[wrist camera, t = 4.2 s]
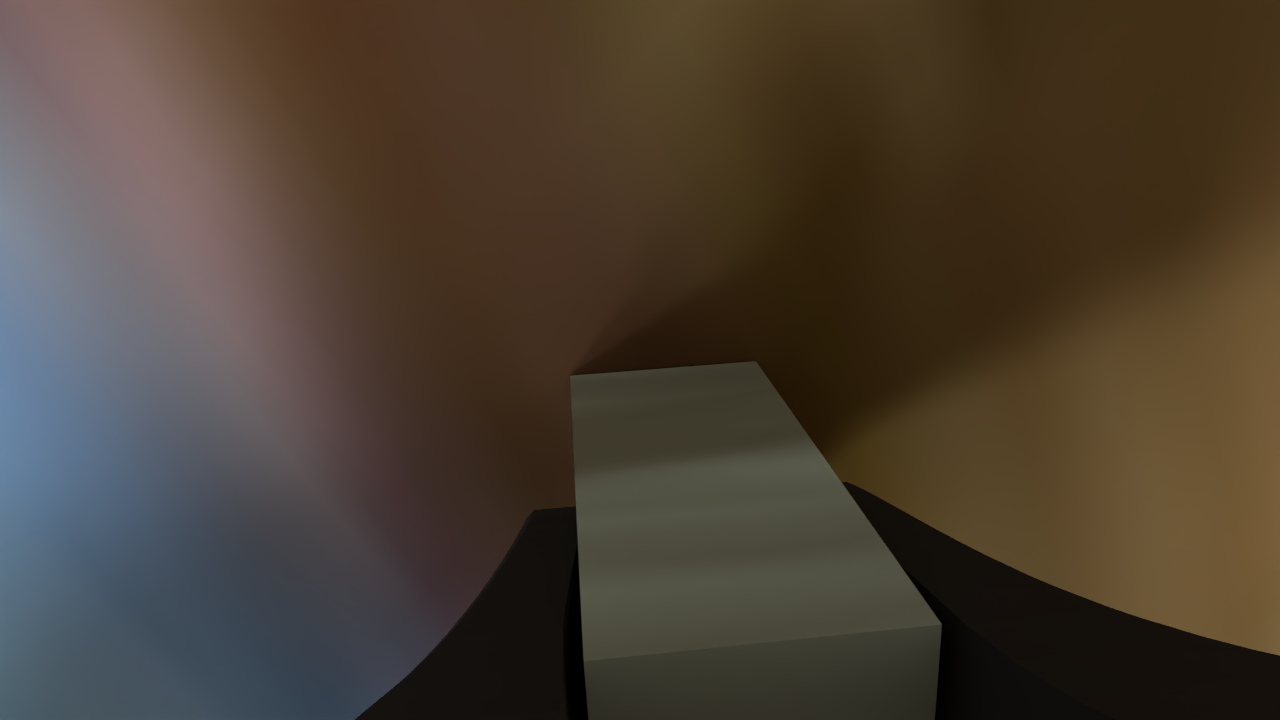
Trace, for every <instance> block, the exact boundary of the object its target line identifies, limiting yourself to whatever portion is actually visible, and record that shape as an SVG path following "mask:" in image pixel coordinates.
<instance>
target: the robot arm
mask: <svg viewBox="0 0 1280 720" xmlns="http://www.w3.org/2000/svg"><path fill="white" fill-rule="evenodd" d="M842 484H843V485H844V487H845V488H846V489H847V491H848V492H849V494H850V495H851V496H852V498H853V499H854V501H855V502H856V504H857V505H858V506H859V508H860V509H861V511H862V512H863V513H864V515H865V516H866V518H867V519H868V521H869V522H870V523H871V525H872V526H873V528H874V529H875V530H876V532H877V533H878V535H879V536H880V538H881V539H882V540H883V542H884V543H885V545H886V546H887V547H888V549H889V550H890V552H891V553H892V554H893V556H894V557H895V559H896V560H897V562H898V563H899V564H900V566H901V567H902V569H903V570H904V571H905V573H906V574H907V576H908V577H909V579H910V580H911V581H912V583H913V584H914V586H915V587H916V588H917V590H918V591H919V593H920V594H921V596H922V597H923V598H924V600H925V601H926V603H927V604H928V605H929V607H930V608H931V610H932V611H933V612H934V614H935V615H936V617H937V618H938V620H939V621H940V622H941V624H942V630H941V643H940V657H939V670H938V684H937V697H936V710H935V720H1280V656H1279V655H1274V654H1270V653H1265V652H1261V651H1256V650H1252V649H1248V648H1244V647H1240V646H1237V645H1233V644H1229V643H1225V642H1221V641H1217V640H1213V639H1209V638H1206V637H1202V636H1199V635H1195V634H1192V633H1189V632H1185V631H1182V630H1179V629H1176V628H1172V627H1169V626H1166V625H1162V624H1159V623H1156V622H1152V621H1149V620H1146V619H1142V618H1139V617H1136V616H1133V615H1130V614H1127V613H1124V612H1121V611H1118V610H1115V609H1113V608H1110V607H1107V606H1104V605H1102V604H1099V603H1096V602H1094V601H1091V600H1089V599H1086V598H1083V597H1081V596H1078V595H1076V594H1073V593H1070V592H1068V591H1065V590H1062V589H1060V588H1057V587H1055V586H1052V585H1050V584H1048V583H1045V582H1043V581H1040V580H1038V579H1036V578H1033V577H1031V576H1029V575H1027V574H1024V573H1022V572H1020V571H1018V570H1016V569H1014V568H1012V567H1010V566H1007V565H1005V564H1003V563H1001V562H999V561H997V560H995V559H993V558H990V557H988V556H986V555H984V554H982V553H980V552H978V551H976V550H974V549H972V548H970V547H968V546H966V545H964V544H962V543H961V542H959V541H957V540H955V539H953V538H951V537H949V536H947V535H945V534H944V533H942V532H940V531H938V530H936V529H934V528H932V527H931V526H929V525H927V524H925V523H923V522H922V521H920V520H918V519H916V518H914V517H913V516H911V515H909V514H907V513H905V512H904V511H902V510H900V509H898V508H896V507H895V506H893V505H891V504H889V503H887V502H886V501H884V500H882V499H880V498H878V497H877V496H875V495H873V494H871V493H869V492H867V491H865V490H863V489H861V488H859V487H857V486H855V485H852V484H850V483H848V482H843V483H842ZM355 720H588V708H587V696H586V684H585V672H584V660H583V639H582V619H581V598H580V577H579V556H578V536H577V515H576V507H564V508H553V509H542V510H534V511H533V512H532V513H531V514H530V515H529V516H528V518H527V519H526V521H525V523H524V525H523V527H522V529H521V531H520V532H519V534H518V536H517V538H516V539H515V541H514V543H513V545H512V546H511V548H510V549H509V551H508V553H507V554H506V556H505V558H504V559H503V561H502V562H501V564H500V565H499V567H498V568H497V570H496V571H495V572H494V574H493V575H492V577H491V578H490V580H489V581H488V583H487V584H486V586H485V587H484V588H483V590H482V591H481V593H480V594H479V595H478V597H477V598H476V599H475V600H474V602H473V603H472V604H471V605H470V607H469V608H468V609H467V610H466V612H465V613H464V614H463V615H462V617H461V618H460V619H459V620H458V622H457V623H456V624H455V625H454V627H453V628H452V629H451V630H450V631H449V633H448V634H447V635H446V636H445V637H444V638H443V639H442V641H441V642H440V643H439V644H438V645H437V646H436V647H435V648H434V649H433V650H432V652H431V653H430V654H429V655H428V656H427V657H426V658H425V659H424V660H423V661H422V662H421V663H420V664H419V665H418V666H417V667H416V668H415V669H414V670H413V671H412V672H411V673H410V674H409V675H408V676H406V677H405V678H404V679H403V680H402V681H401V682H400V683H399V684H397V685H396V686H395V687H394V688H393V689H391V690H390V691H389V692H388V693H387V694H385V695H384V696H383V697H382V698H380V699H379V700H378V701H377V702H376V703H374V704H373V705H372V706H371V707H369V708H368V709H367V710H366V711H365V712H363V713H362V714H361V715H360V716H358V717H357V718H356V719H355Z"/></svg>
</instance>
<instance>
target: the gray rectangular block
mask: <svg viewBox="0 0 1280 720" xmlns="http://www.w3.org/2000/svg"><path fill="white" fill-rule="evenodd" d="M570 391H571V412H572V432H573V453H574V474H575V494H576V515H577V536H578V556H579V577H580V598H581V619H582V639H583V660H584V672H585V684H586V696H587V708H588V720H935V710H936V697H937V684H938V670H939V657H940V643H941V630H942V624H941V622H940V621H939V620H938V618H937V617H936V615H935V614H934V612H933V611H932V610H931V608H930V607H929V605H928V604H927V603H926V601H925V600H924V598H923V597H922V596H921V594H920V593H919V591H918V590H917V588H916V587H915V586H914V584H913V583H912V581H911V580H910V579H909V577H908V576H907V574H906V573H905V571H904V570H903V569H902V567H901V566H900V564H899V563H898V562H897V560H896V559H895V557H894V556H893V554H892V553H891V552H890V550H889V549H888V547H887V546H886V545H885V543H884V542H883V540H882V539H881V538H880V536H879V535H878V533H877V532H876V530H875V529H874V528H873V526H872V525H871V523H870V522H869V521H868V519H867V518H866V516H865V515H864V513H863V512H862V511H861V509H860V508H859V506H858V505H857V504H856V502H855V501H854V499H853V498H852V496H851V495H850V494H849V492H848V491H847V489H846V488H845V487H844V485H843V484H842V482H841V481H840V480H839V478H838V477H837V475H836V474H835V472H834V471H833V470H832V468H831V467H830V465H829V464H828V463H827V461H826V460H825V458H824V457H823V455H822V454H821V453H820V451H819V450H818V448H817V447H816V446H815V444H814V443H813V441H812V440H811V438H810V437H809V436H808V434H807V433H806V431H805V430H804V429H803V427H802V426H801V424H800V423H799V422H798V420H797V419H796V417H795V416H794V414H793V413H792V412H791V410H790V409H789V407H788V406H787V405H786V403H785V402H784V400H783V399H782V397H781V396H780V395H779V393H778V392H777V390H776V389H775V388H774V386H773V385H772V383H771V382H770V380H769V379H768V378H767V376H766V375H765V373H764V372H763V371H762V369H761V368H760V366H759V365H758V364H757V362H756V361H751V362H739V363H726V364H713V365H700V366H687V367H675V368H662V369H649V370H636V371H623V372H611V373H598V374H585V375H572V376H570Z"/></svg>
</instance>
